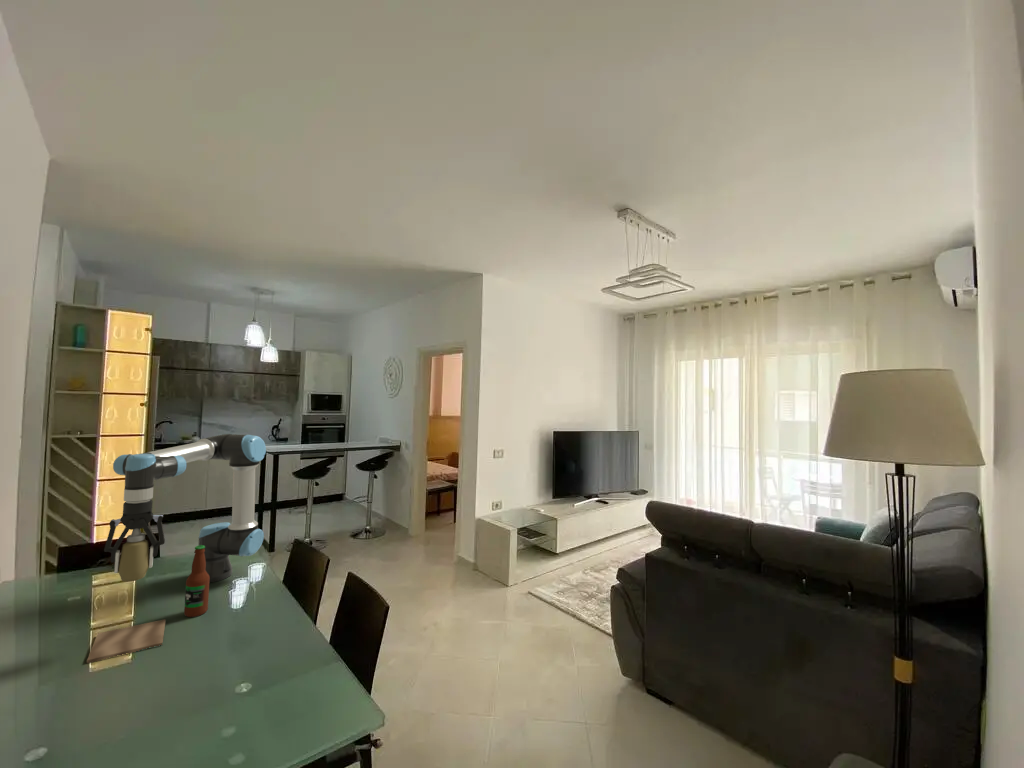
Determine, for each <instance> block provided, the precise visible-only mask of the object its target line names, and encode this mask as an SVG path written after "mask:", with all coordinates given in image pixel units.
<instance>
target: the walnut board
mask: <svg viewBox="0 0 1024 768" xmlns="http://www.w3.org/2000/svg"><path fill="white" fill-rule="evenodd" d="M165 627H166V619H160V620H156V621H155V620H154V621H150V622H145V623H141V624H136V625H131V626H125V627H121V628H116V629H111V630H106V631H102V632H97V634H96V637H95V639H94V642H93V645H92V647H91V649H90V651H89V654H88V657H87V659H86V664H91V663H95V661H96V662H99V661H103V660H102V659H104V660H107V659H106V658H108V659H110V658H109V657H113V656H117V655H121V656H123V655H122V654H125V655H127V654H126V653H129V654H133V653H132V652H134V653H137V652H136V651H138V652H140V651H139V650H142V649H146V648H149V647H154V646H159V645H162V646H163V644H164V643H163V642H164V634H165ZM162 643H163V644H162ZM159 647H160V646H159ZM146 650H147V649H146ZM142 651H143V650H142ZM117 657H118V656H117ZM113 658H114V657H113Z"/></svg>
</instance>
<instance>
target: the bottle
mask: <svg viewBox="0 0 1024 768" xmlns="http://www.w3.org/2000/svg"><path fill="white" fill-rule="evenodd" d="M198 545H199V544H198ZM198 545H197V546H195V547H194V556H193V559H192V563H191V564H192V565H191V572H190V574H189V575H188V577H187V578H186V581H185V592H184V593H185V594H184V595H185V596H184V609H183V610H184V612H183V613H184V616H185V617H187V618H195V617H196V618H197V617H200V616H202V615H204V614H205V613H207V611H208V609H209V598H210V597H209V593H210V582H209V581H210V577H209V574H208V573H207V572H206V570H205V569H206V560H205V554H204V552H205V549H204V548H205V546H204V545H199V546H198Z"/></svg>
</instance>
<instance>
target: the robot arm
mask: <svg viewBox="0 0 1024 768" xmlns="http://www.w3.org/2000/svg"><path fill="white" fill-rule="evenodd" d="M266 453H267V447H266V443H265V441H264V439H263V438H261V437H260V436H258V435H253V434H233V433H226V434H218V435H214V436H209V437H204V438H201V439H198V440H196V442H192V443H191V442H190V443H187V444H182V445H177V446H172V447H167V448H163V449H158V450H157V449H156V450H153V451H147V452H142V453H136V454H132V453H129V454H120V455H119V456H117V457H116V458H115V460H114V462H113V466H112V469H113V471H114V472H115V474H116V475H119V476H124V490H123V501H124V503H123V506H122V515H121V518H115V519H114V518H113V519H110V521H109V532H108V535H107V539H106V542H105V544H104V548H103V551H104V552H105V553H107V552H108V553H110V562H111V563H114V573H113V574H119V572H118V567H119V562H120V557H121V550H120V549H119V548H120V546H121V544H122V542H123V541H124V539H125V537H127V534H128V532H129V531H133V529H140V530H141V529H143V531H144V532H145V535H146V537H147V538H148V539H149V542H150V543H151V546H150V547H149V548H150V549H149V568H148V569H151V568H153V563H154V557H155V558H156V557H157V556H158V554H159V553H158V550H159V547H160V546H162V545H164V544H165V542H166V539H165V538H166V537H165V534H164V533H165V532H164V527H163V522H162V521H163V518H164V515H163V514H159V515H157V514H153V503H154V501H153V498H154V486H155V481H157V480H161V479H167V478H175V477H176V476H177V477H178V476H180V475H182V474H183V473H185V471H186V469H187V464H188V463H192V462H195V461H196V462H197V461H210V460H222V461H228V465H229V467H230V469H232V474H233V475H232V504H231V505H232V508H231V510H232V511H231V515H232V516H231V523H230V522H229V521H228V522H227V521H226V522H224V521H223V522H215V523H212V524H209V525H205V526H203V527H201V529H200V531H199V535H198V536H199V537H198V545H197V546H199V545H204V546H205V548H204V549H205V552H204V554H205V560H206V569H205V570H206V572H207V573H208V574H209V577H210V581H209V583H214V582H219V581H222V580H225V579H228V577H230V576H232V575H233V565H232V563H231V560H230V556H240V557H251V556H253V555H255V554H256V553H257V552H258V551H259V550H260V548H261V546H262V544H263V541H264V538H265V537H264V536H265V535H264V531H263V529H260V528H259V522H258V521H256V519H255V511H256V510H255V509H256V508H255V507H256V506H255V504H256V502H255V500H256V468H257V467H258V466H259V465H260V461H263V459H264V458H265V455H266ZM152 520H154V522H156V527H157V533H158V540H157V538H156V536H155V534H154V533H153V531H152V529H151V527H150V522H151V521H152ZM120 523H121V524H122V525H123V526H124V529H123V530H122V532H121V534H120V535H119V537H118V539H117V541H116V542H115V544H114V546H112V543H113V540H114V535H115V533H116V528H117V527H118V526H119V524H120Z"/></svg>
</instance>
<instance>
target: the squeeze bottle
mask: <svg viewBox="0 0 1024 768" xmlns="http://www.w3.org/2000/svg"><path fill="white" fill-rule="evenodd" d="M131 531H132V532H131V534H130V535H126V542H124V543H123V544H122V547H121V551H120V557H119V567H118V575H119V577H120V580H121V581H122V582H129V583H130V582H134V581H138V580H142V579H143V578H145V577H146V574H147V572H148V571H149V569H150V568H149V561H150V549H149V548H150V547H149V541H148V540H146V533H144V532H142V531H141V529H133V530H131Z"/></svg>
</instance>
